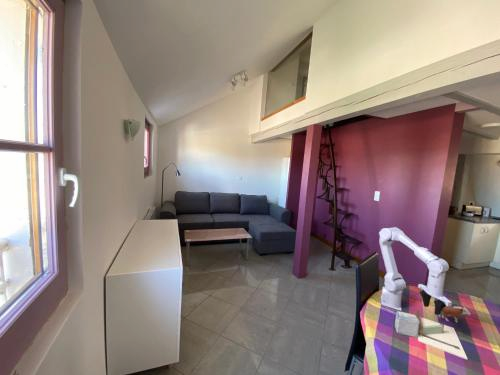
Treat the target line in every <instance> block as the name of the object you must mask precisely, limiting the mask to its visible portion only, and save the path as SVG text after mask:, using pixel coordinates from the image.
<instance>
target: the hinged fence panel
mask: <svg viewBox="0 0 500 375" xmlns="http://www.w3.org/2000/svg"><path fill="white" fill-rule="evenodd" d="M444 325H445V324H443V323H440V325H431V326H421V325H419V327H418V334H419V335H422V334H433V333H443V330H444Z"/></svg>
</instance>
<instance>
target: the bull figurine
mask: <svg viewBox="0 0 500 375" xmlns="http://www.w3.org/2000/svg"><path fill="white" fill-rule="evenodd" d="M463 315H468V316H471V312H470V311H469V309H467V307H465V306H462V307H461V306H446V307H444V308H443V310H442V311H441V313H440V315H437V317H439V318H440V319H441V318H442V319H445V321H446V322H450V320H449V319H448V317H453V319H454V321H455V322H456V323H457V324H458V323H459V322H458V320H459V318H460V317H461V316H463Z"/></svg>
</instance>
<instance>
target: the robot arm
mask: <svg viewBox="0 0 500 375" xmlns="http://www.w3.org/2000/svg"><path fill="white" fill-rule="evenodd" d="M378 235H379V239H378V240H379V241H378V242H379V246H380V251H381V255H382V259H383V262H384V267H385V270H386V273H385V275H384V286H382V290H381V295H380V304H381V306H385V307H388V308H391V309H394V310H396V311H399V312H403V311H402V296H403V290H404V289H406V288H407V283H406V281H405V280H404V278H403V275H402V274H401V273H399V271H398V270H399V269H398V267H397V263H396V259H395V255H394V252H393V248H392V244H393V242H394V241H397V242H401V243H402V244H403V245H405V246H406V247H407V248H409V249H410V250H412V251H413V253H414V256H416V257H417V258H418V259H419V260H420V261H421V262H423V263H424V264H425V265H426V266H427V269H428V277H427V284H426V285H424V284H422V283H419V284H418V285H417V287H418V289H420V291H419V294H420V297H421V300H422V303H423V307H425V308H429V306H430V303H431V302H430V301H431V298H432V297H433V298H435V299H434V300H433V303H434V310H433V311H434V315H436V316H438V315H440V316H441V314H440V313H441V311H442V310H443V308H444V307H446V306H448V307H452V303H453V302H452V301H451V300H449V299H448V297H445V295H443V294H444V293H443V292H444V284H445V279H446V273H447V271H448V270H449V269H450V266H449V264H448V262H447V260H445V259H443V258H439V257H438V256H437V255H435V254H433V253H432V252H430V250H429V249H428V248H426V247H423V246H422V247H421V246H419V245H418V244H417V243H416V242H414V241H413V240H412V239H411V238H409V237H408V236H407V235H406V234H405V232H404V231H403V230H402V229H400V228H398V227H397V226H394V227H385V228H381V229H380V230H379V232H378Z"/></svg>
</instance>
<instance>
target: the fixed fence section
mask: <svg viewBox="0 0 500 375" xmlns="http://www.w3.org/2000/svg"><path fill="white" fill-rule="evenodd" d="M414 315H416V317H417V319H418V320H419V325H421V321H420V317H421V316H420V312H419V310H415V312H414Z"/></svg>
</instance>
